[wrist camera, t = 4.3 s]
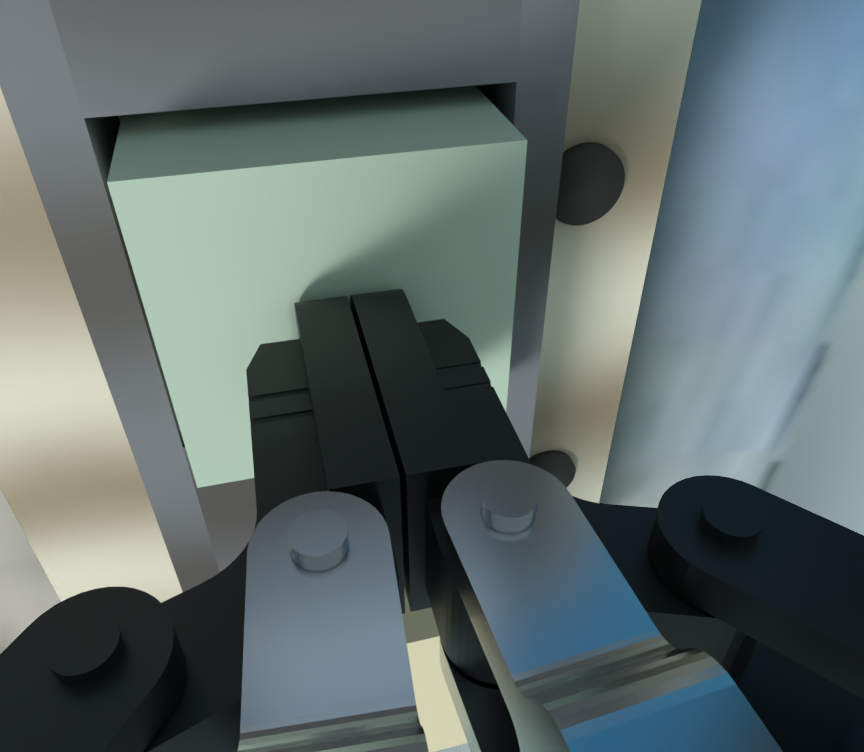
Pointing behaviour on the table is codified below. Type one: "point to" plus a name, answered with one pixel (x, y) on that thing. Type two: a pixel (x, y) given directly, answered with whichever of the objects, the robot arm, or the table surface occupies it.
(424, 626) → the button three
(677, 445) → the table surface
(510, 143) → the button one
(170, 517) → the button board
